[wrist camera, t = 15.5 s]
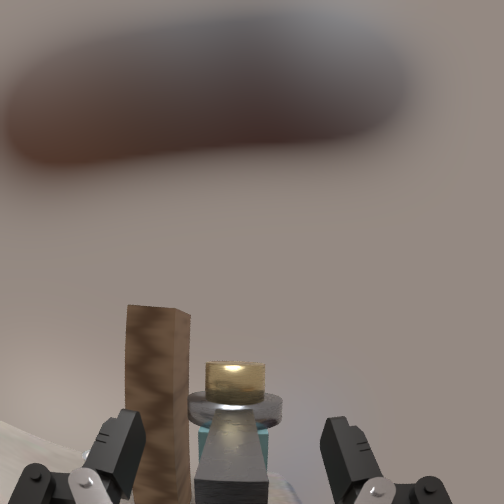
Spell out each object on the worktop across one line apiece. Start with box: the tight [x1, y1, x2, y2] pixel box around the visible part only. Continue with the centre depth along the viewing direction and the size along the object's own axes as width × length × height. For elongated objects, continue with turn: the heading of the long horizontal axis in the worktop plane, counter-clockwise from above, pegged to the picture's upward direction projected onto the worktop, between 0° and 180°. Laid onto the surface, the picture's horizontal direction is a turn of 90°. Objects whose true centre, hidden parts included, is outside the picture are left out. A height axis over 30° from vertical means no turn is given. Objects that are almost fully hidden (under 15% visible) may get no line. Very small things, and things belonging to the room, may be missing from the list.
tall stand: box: [125, 305, 191, 504], centre depth 33 cm, size 6×11×32 cm, turn 3°
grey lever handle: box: [187, 361, 282, 504], centre depth 19 cm, size 9×22×6 cm, turn 3°
